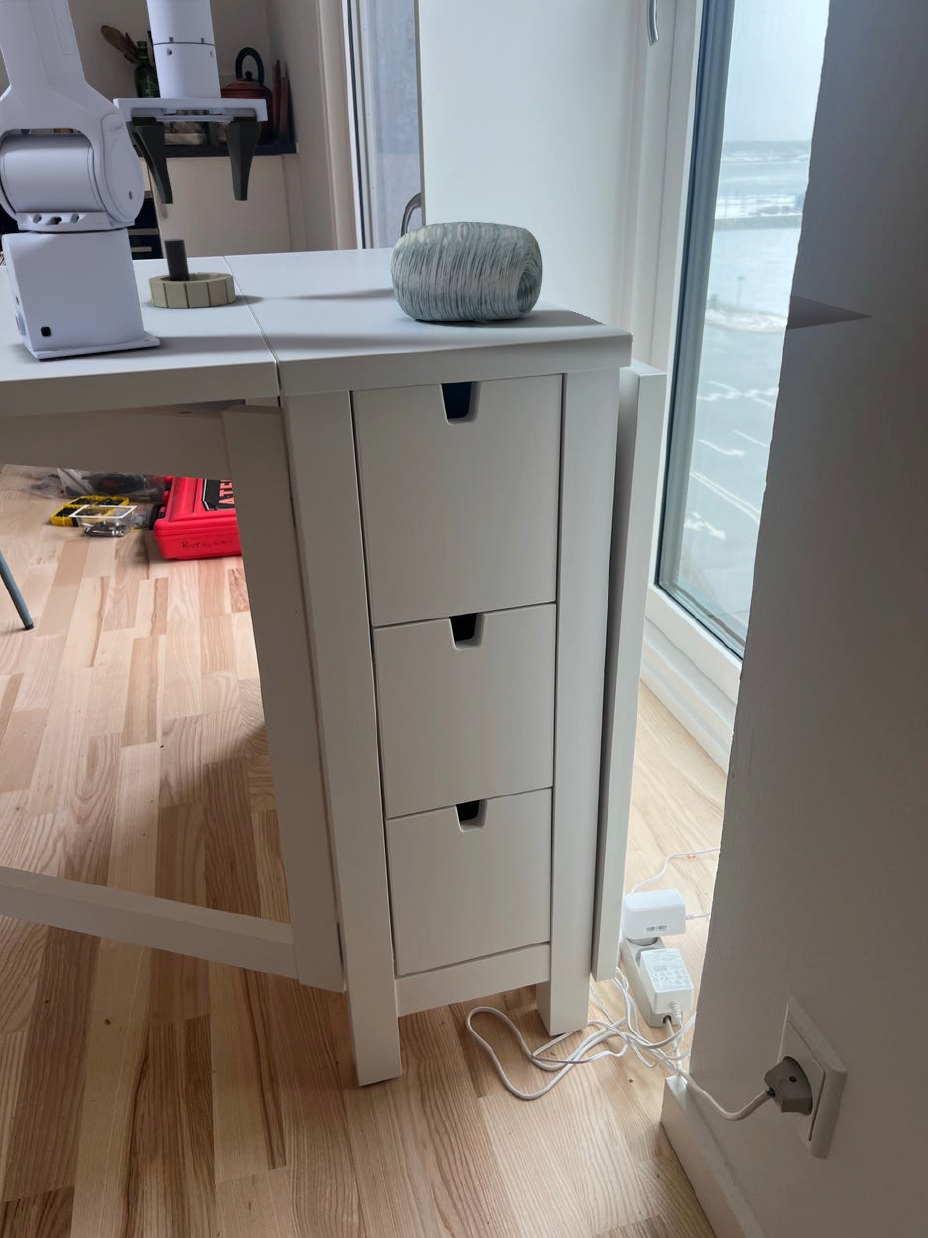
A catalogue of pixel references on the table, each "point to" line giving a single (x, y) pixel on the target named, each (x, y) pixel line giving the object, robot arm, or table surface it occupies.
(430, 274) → the spool
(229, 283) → the tape roll
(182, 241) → the post
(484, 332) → the table surface
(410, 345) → the table surface
